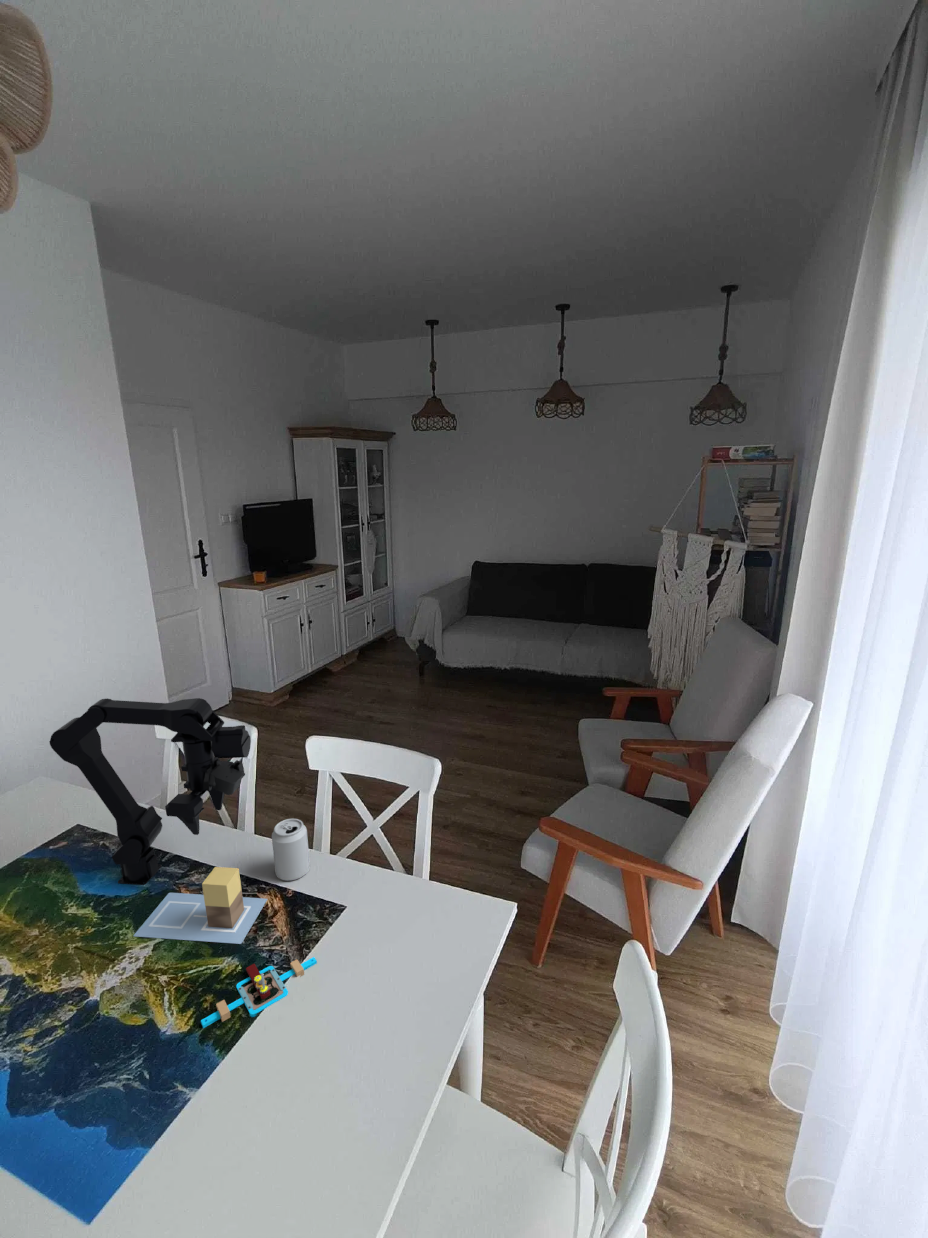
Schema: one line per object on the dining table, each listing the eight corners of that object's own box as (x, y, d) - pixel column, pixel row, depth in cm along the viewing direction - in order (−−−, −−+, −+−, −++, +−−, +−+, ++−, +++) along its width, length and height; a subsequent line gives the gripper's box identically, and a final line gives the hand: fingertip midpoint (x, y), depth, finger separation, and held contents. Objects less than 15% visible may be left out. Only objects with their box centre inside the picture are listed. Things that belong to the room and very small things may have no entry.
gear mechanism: (193, 1005, 99) (209, 1046, 92) (189, 980, 98) (205, 1019, 91) (303, 945, 111) (325, 977, 104) (301, 922, 110) (323, 952, 103)
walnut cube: (208, 927, 115) (205, 905, 114) (220, 908, 120) (218, 888, 118) (232, 928, 114) (229, 907, 113) (244, 910, 119) (241, 889, 118)
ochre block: (205, 905, 114) (201, 884, 112) (218, 888, 118) (215, 867, 117) (229, 907, 113) (226, 885, 112) (241, 889, 118) (238, 868, 117)
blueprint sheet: (133, 937, 113) (132, 935, 113) (169, 894, 124) (169, 892, 124) (241, 945, 111) (241, 943, 111) (267, 900, 122) (267, 898, 122)
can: (289, 888, 126) (284, 840, 123) (268, 874, 130) (263, 828, 127) (317, 870, 131) (313, 823, 128) (296, 857, 136) (292, 812, 133)
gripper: (211, 782, 114) (220, 851, 118) (255, 739, 132) (261, 800, 136) (159, 779, 115) (169, 847, 119) (209, 737, 133) (216, 797, 137)
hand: (207, 821), depth 128 cm, fingers open, 9 cm apart
